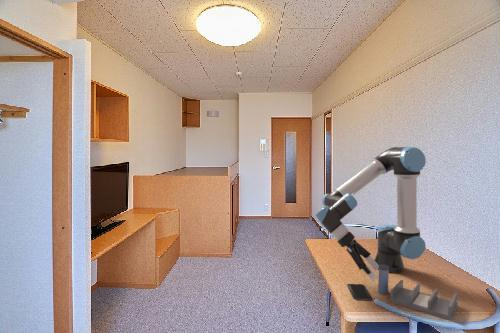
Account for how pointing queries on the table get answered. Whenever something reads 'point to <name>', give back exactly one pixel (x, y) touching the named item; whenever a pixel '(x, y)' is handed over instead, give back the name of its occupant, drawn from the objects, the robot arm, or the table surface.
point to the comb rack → (424, 301)
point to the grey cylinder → (383, 279)
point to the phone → (359, 292)
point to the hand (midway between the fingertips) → (376, 273)
